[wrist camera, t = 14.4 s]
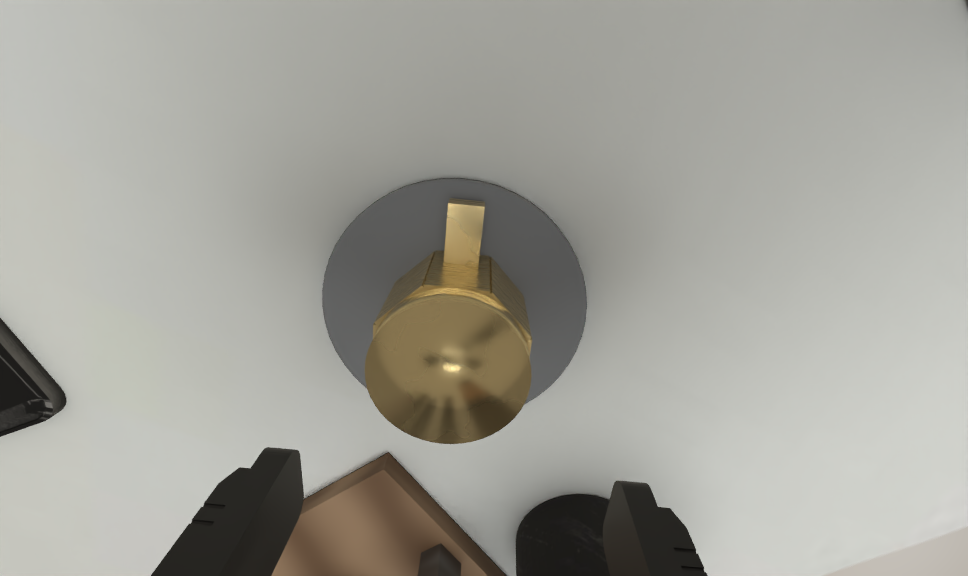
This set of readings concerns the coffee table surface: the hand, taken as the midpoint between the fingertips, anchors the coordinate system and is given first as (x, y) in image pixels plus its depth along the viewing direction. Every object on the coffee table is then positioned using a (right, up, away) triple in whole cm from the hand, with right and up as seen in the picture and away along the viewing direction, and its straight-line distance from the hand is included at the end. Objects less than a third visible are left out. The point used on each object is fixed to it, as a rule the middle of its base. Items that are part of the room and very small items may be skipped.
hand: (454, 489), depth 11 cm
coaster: (-1, +4, +10) cm, 10 cm away
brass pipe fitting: (0, +4, +9) cm, 10 cm away
